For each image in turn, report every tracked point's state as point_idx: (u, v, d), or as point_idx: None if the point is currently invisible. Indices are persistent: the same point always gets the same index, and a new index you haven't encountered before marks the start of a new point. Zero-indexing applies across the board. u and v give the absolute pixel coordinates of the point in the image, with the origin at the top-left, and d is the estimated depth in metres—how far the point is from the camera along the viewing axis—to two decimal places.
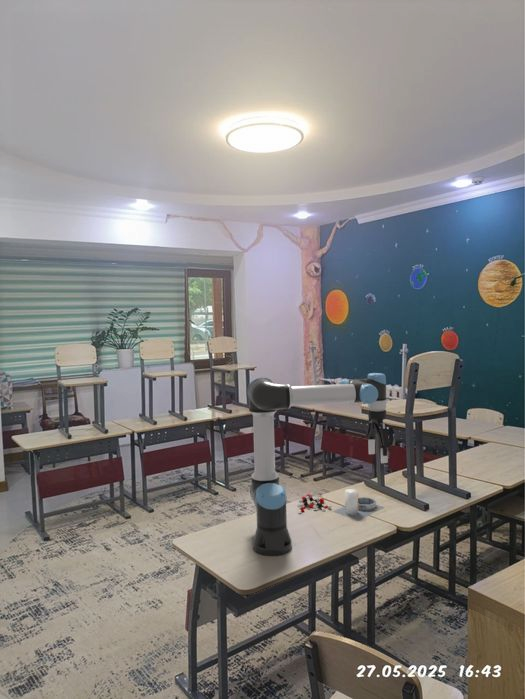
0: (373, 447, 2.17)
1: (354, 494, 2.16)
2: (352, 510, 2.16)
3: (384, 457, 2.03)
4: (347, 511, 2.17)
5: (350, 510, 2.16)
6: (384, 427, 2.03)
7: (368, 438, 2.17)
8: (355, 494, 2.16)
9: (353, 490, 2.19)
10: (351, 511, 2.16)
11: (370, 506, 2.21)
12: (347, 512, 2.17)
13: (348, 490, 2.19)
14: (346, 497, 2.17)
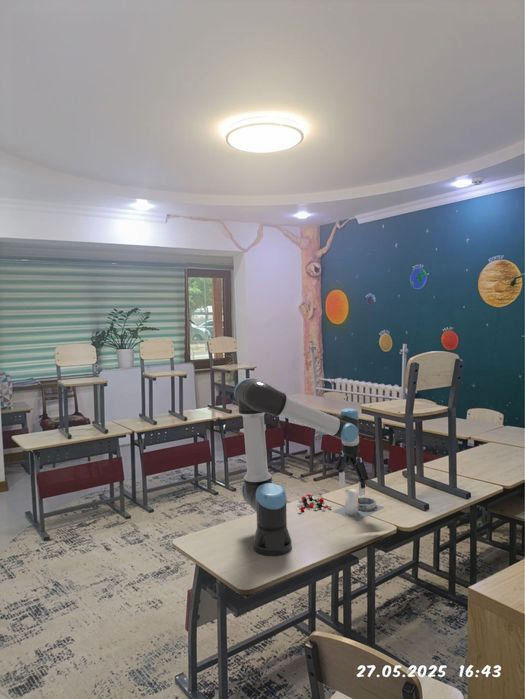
0: (343, 479, 2.24)
1: (354, 494, 2.16)
2: (352, 510, 2.16)
3: (362, 489, 2.12)
4: (347, 511, 2.17)
5: (350, 510, 2.16)
6: (361, 461, 2.12)
7: (339, 471, 2.24)
8: (355, 494, 2.16)
9: (353, 490, 2.19)
10: (351, 511, 2.16)
11: (370, 506, 2.21)
12: (347, 512, 2.17)
13: (348, 490, 2.19)
14: (346, 497, 2.17)
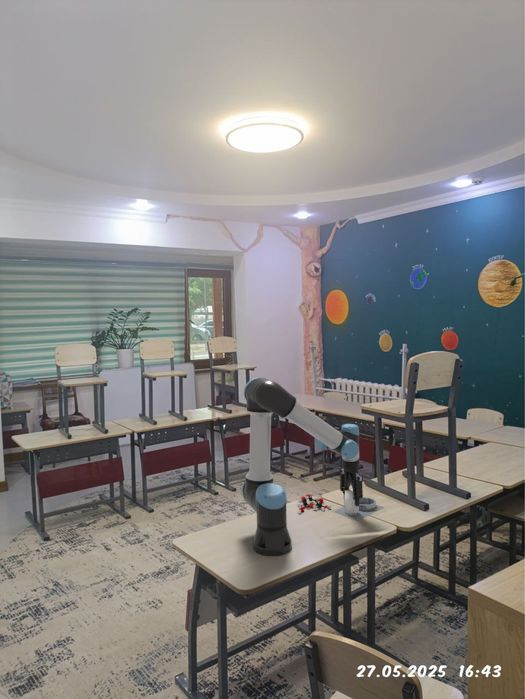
0: None
1: None
2: (352, 510, 2.16)
3: (356, 507, 2.16)
4: (347, 511, 2.17)
5: (350, 510, 2.16)
6: (361, 480, 2.13)
7: (344, 492, 2.21)
8: None
9: None
10: (351, 511, 2.16)
11: (370, 506, 2.21)
12: (347, 512, 2.17)
13: (348, 490, 2.19)
14: (346, 497, 2.17)
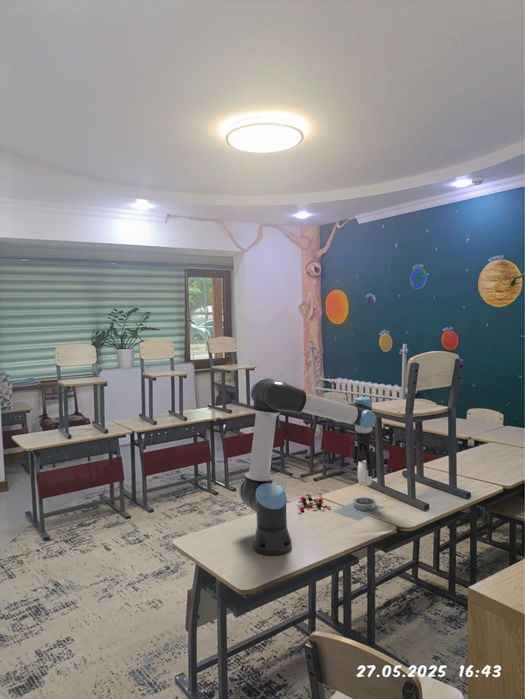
0: None
1: None
2: None
3: (369, 477, 2.22)
4: (360, 481, 2.23)
5: (363, 480, 2.23)
6: (374, 450, 2.19)
7: (357, 464, 2.27)
8: None
9: None
10: (364, 481, 2.22)
11: (370, 506, 2.21)
12: (360, 482, 2.23)
13: (361, 461, 2.25)
14: (359, 468, 2.23)
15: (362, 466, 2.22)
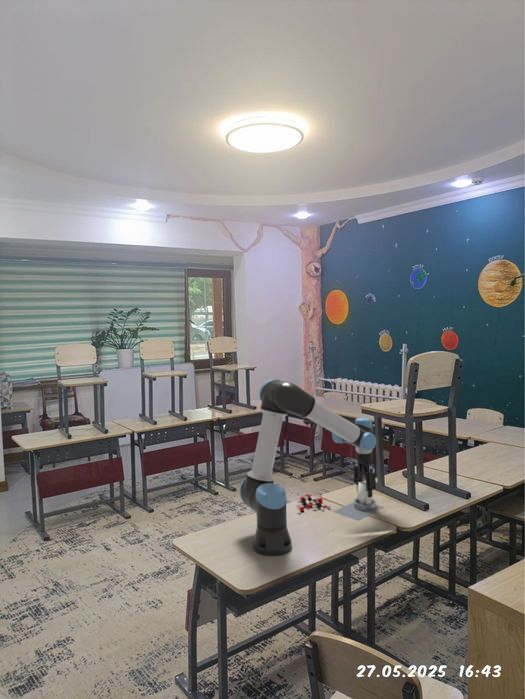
0: None
1: None
2: (365, 501, 2.23)
3: (369, 498, 2.23)
4: (360, 502, 2.24)
5: (363, 501, 2.23)
6: (374, 472, 2.19)
7: (357, 484, 2.28)
8: None
9: None
10: (364, 502, 2.23)
11: (370, 506, 2.21)
12: (360, 503, 2.24)
13: (361, 482, 2.26)
14: (359, 488, 2.24)
15: (362, 487, 2.23)
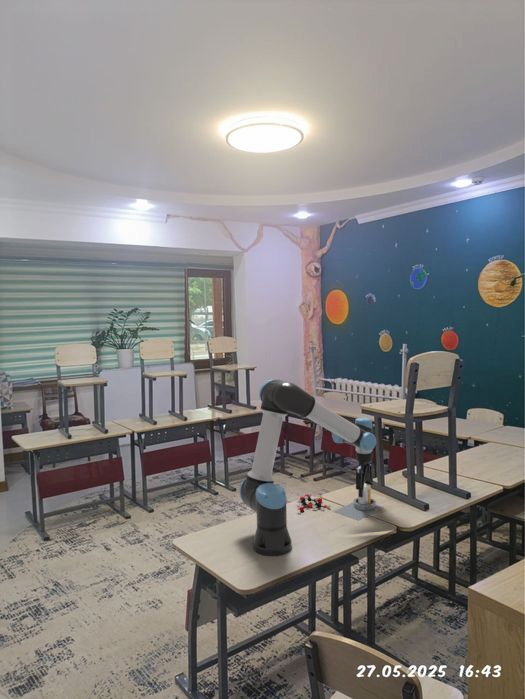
0: None
1: None
2: None
3: (361, 498, 2.23)
4: None
5: None
6: (359, 472, 2.19)
7: None
8: None
9: (367, 485, 2.25)
10: (359, 503, 2.25)
11: (370, 506, 2.21)
12: None
13: (364, 484, 2.27)
14: None
15: None
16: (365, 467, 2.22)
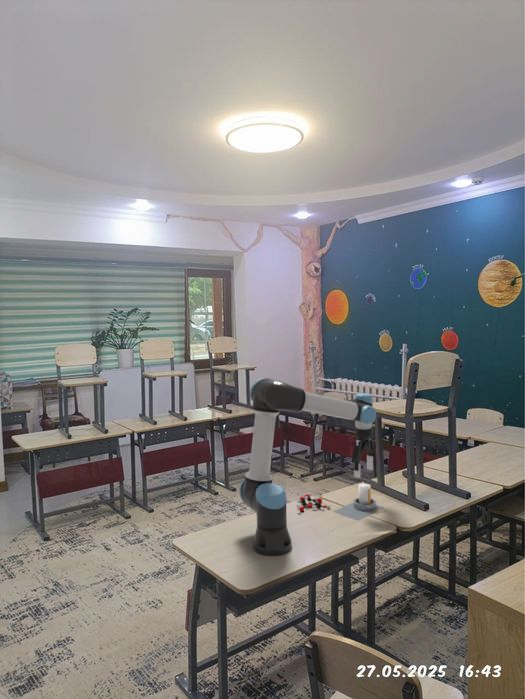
0: (370, 463, 2.29)
1: (361, 488, 2.23)
2: (359, 503, 2.25)
3: (356, 472, 2.19)
4: None
5: None
6: (358, 444, 2.18)
7: None
8: (362, 488, 2.23)
9: (367, 485, 2.25)
10: (359, 503, 2.25)
11: (370, 506, 2.21)
12: None
13: (364, 484, 2.27)
14: None
15: None
16: (364, 442, 2.21)
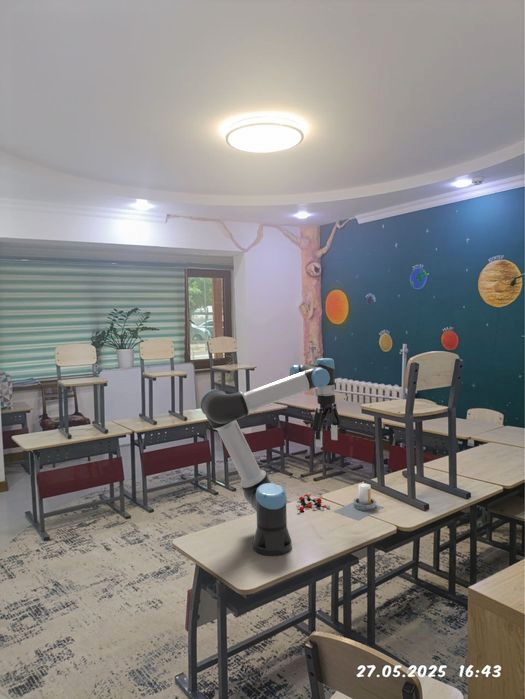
0: (335, 433, 2.16)
1: (361, 488, 2.23)
2: (359, 503, 2.25)
3: (318, 441, 2.05)
4: None
5: None
6: (319, 411, 2.04)
7: (332, 423, 2.17)
8: (362, 488, 2.23)
9: (367, 485, 2.25)
10: (359, 503, 2.25)
11: (370, 506, 2.21)
12: None
13: (364, 484, 2.27)
14: None
15: (358, 487, 2.26)
16: (326, 410, 2.08)
